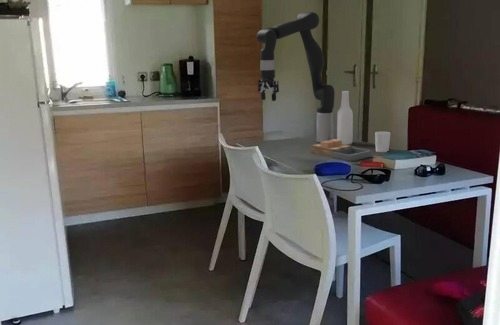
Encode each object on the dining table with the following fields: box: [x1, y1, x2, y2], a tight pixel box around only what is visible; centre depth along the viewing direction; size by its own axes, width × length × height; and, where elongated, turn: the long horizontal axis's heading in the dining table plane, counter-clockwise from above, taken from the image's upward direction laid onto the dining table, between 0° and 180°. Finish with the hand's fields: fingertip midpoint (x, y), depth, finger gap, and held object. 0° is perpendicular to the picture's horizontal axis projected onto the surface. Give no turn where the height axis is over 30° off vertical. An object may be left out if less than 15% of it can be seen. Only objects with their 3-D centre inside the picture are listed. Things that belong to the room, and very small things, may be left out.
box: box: [331, 147, 372, 162], centre depth 262 cm, size 16×12×3 cm
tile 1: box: [319, 141, 334, 148], centre depth 270 cm, size 5×5×2 cm
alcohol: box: [336, 90, 354, 146], centre depth 293 cm, size 9×9×30 cm
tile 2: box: [328, 138, 342, 146], centre depth 273 cm, size 5×5×2 cm
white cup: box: [374, 130, 391, 153], centre depth 272 cm, size 8×8×10 cm
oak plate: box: [310, 143, 353, 158], centre depth 272 cm, size 14×16×4 cm
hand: (268, 100), depth 271 cm, fingers open, 8 cm apart
